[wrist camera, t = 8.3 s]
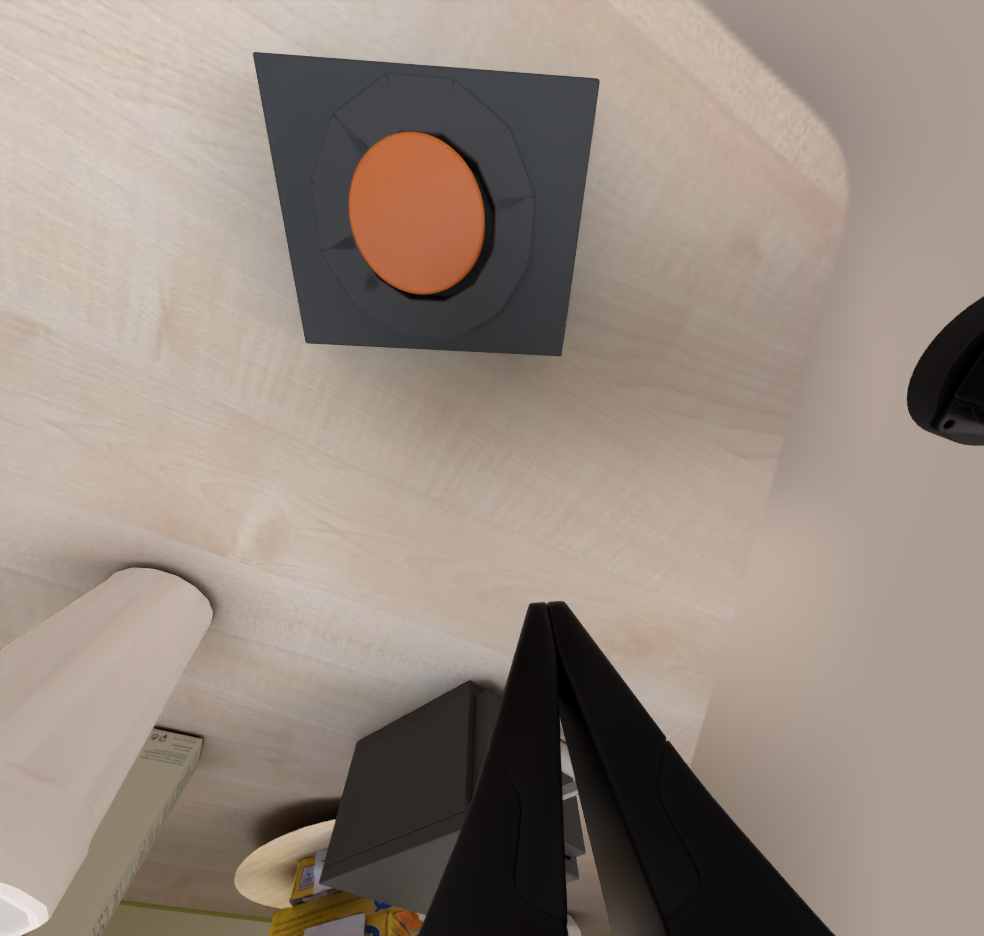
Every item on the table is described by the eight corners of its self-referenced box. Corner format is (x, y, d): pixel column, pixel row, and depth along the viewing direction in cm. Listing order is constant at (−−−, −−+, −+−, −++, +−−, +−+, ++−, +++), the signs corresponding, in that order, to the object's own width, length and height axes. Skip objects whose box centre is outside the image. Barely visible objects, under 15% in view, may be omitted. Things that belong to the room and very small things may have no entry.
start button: (487, 154, 11) (487, 135, 9) (482, 293, 12) (482, 298, 11) (359, 145, 10) (338, 125, 9) (373, 287, 12) (356, 291, 11)
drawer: (530, 665, 26) (543, 783, 20) (609, 724, 30) (639, 837, 24) (376, 747, 32) (350, 859, 26) (460, 788, 35) (455, 894, 30)
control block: (583, 105, 13) (620, 46, 9) (553, 345, 17) (570, 367, 13) (288, 83, 12) (209, 13, 9) (326, 334, 16) (282, 353, 13)
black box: (469, 680, 29) (463, 829, 21) (558, 738, 33) (579, 879, 25) (356, 741, 33) (317, 884, 25) (448, 786, 37) (438, 919, 30)
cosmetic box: (150, 724, 31) (-26, 966, 20) (205, 736, 32) (65, 972, 21) (146, 758, 34) (-11, 987, 23) (197, 768, 35) (69, 992, 24)
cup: (270, 642, 26) (103, 936, 15) (135, 653, 27) (-129, 947, 15) (202, 530, 21) (-123, 838, 10) (38, 546, 22) (-454, 858, 10)
